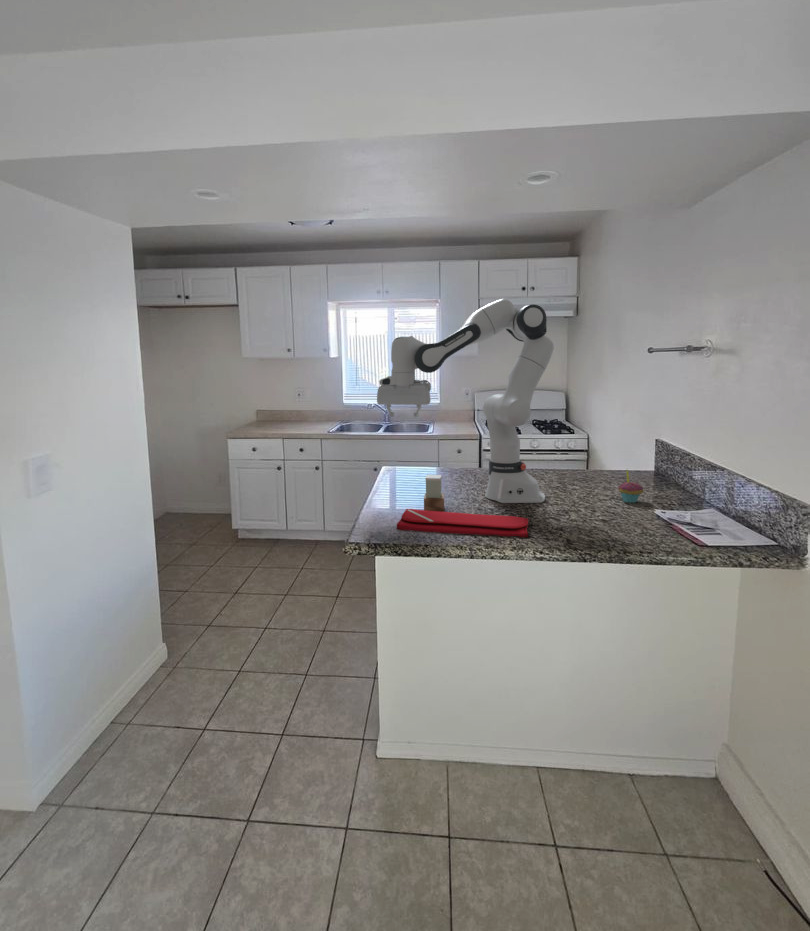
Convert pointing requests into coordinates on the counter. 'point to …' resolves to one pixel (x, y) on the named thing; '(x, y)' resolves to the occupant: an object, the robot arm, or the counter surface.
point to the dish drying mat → (463, 523)
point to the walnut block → (434, 503)
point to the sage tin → (433, 486)
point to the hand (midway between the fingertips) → (403, 416)
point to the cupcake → (630, 490)
